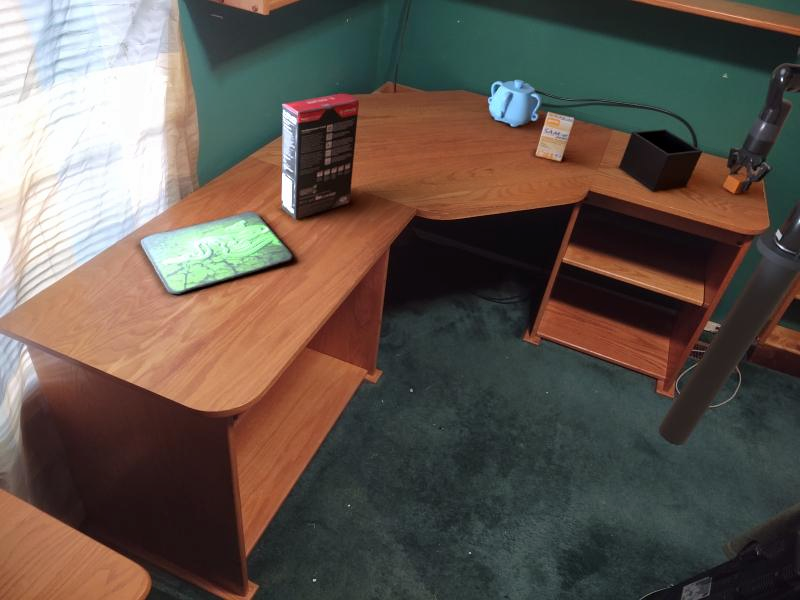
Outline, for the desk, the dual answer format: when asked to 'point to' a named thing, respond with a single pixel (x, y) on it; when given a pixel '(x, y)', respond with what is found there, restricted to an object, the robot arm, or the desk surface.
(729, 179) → the orange rectangular block
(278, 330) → the desk surface
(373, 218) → the desk surface
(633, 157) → the waste bin
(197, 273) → the mouse mat
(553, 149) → the supplement box
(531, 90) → the decorative pot
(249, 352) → the desk surface
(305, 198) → the graphics card box
